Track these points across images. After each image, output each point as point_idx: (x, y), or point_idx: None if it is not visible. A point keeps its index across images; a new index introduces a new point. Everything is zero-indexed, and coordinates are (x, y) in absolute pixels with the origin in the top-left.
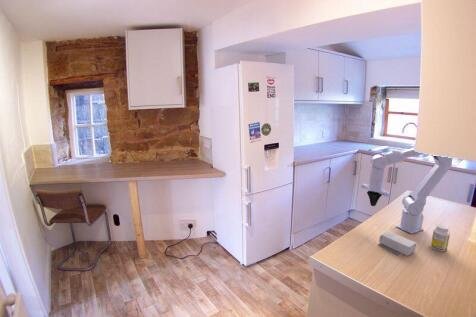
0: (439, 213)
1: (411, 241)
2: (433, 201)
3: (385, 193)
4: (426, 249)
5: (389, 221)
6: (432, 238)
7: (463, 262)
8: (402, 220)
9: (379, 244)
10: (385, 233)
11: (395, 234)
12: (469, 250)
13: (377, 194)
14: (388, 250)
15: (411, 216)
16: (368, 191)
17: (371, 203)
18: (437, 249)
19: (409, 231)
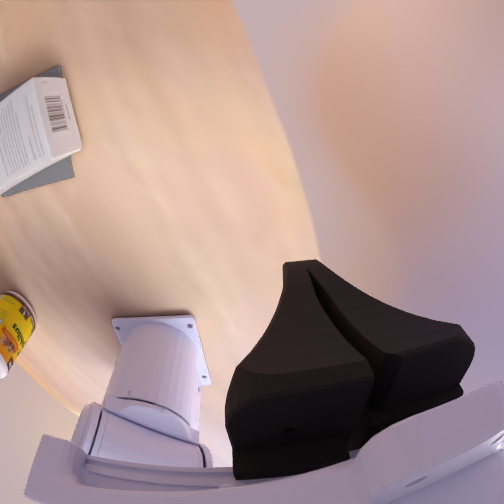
0: None
1: None
2: None
3: (53, 493)
4: (8, 262)
5: (254, 329)
6: (5, 318)
7: None
8: (159, 356)
9: (55, 70)
10: (30, 116)
11: (14, 175)
12: (23, 367)
13: (228, 435)
14: (16, 87)
15: (108, 393)
16: (458, 376)
17: (309, 270)
18: (2, 293)
19: (125, 325)
